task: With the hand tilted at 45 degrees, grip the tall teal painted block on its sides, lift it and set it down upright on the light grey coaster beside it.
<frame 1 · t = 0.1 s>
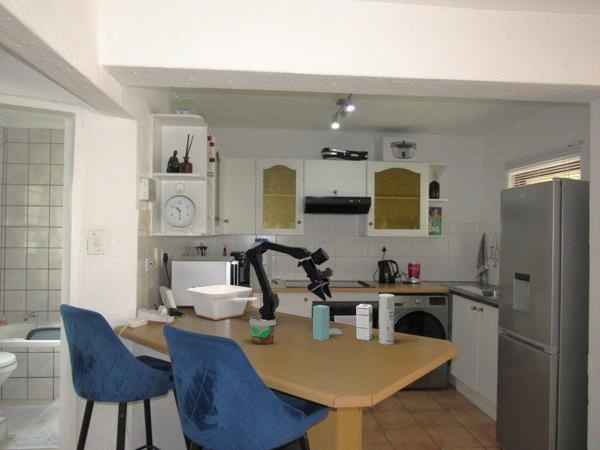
hand: (328, 299, 195), 15 cm above the countertop, tool tilted 35°, fingers open, 9 cm apart
block: (321, 338, 181), on the countertop
syrup box: (364, 338, 182), on the countertop
coaster: (329, 332, 190), on the countertop
spray can: (386, 342, 175), on the countertop
food container: (259, 343, 172), on the countertop
pot: (228, 318, 220), on the countertop
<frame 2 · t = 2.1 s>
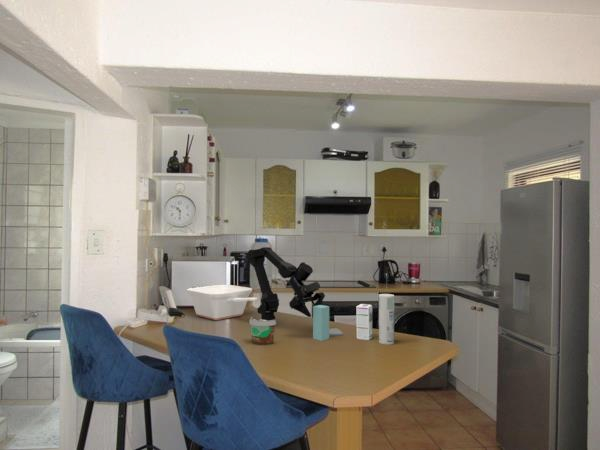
hand: (317, 315, 182), 10 cm above the countertop, tool tilted 45°, fingers open, 9 cm apart
nothing on the countertop moved.
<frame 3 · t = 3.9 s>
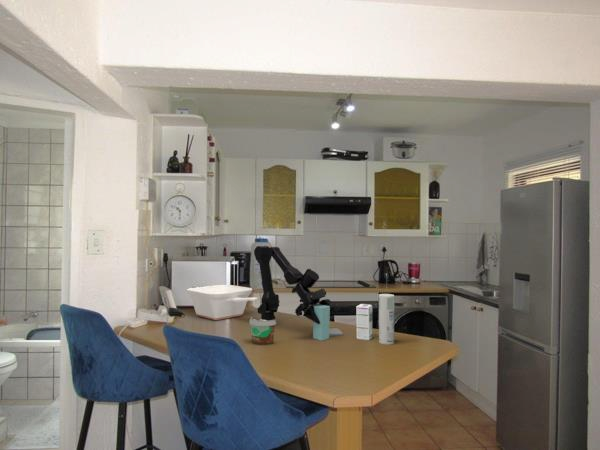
hand: (323, 322, 180), 7 cm above the countertop, tool tilted 45°, fingers closed on block, 5 cm apart
block: (321, 338, 181), on the countertop, touching gripper
everything else where it was.
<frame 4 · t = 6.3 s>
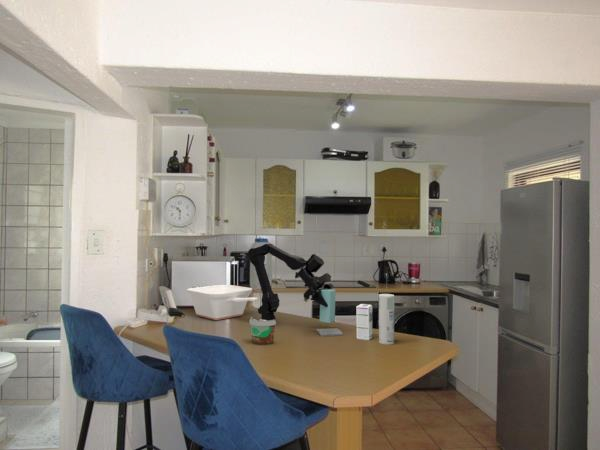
hand: (330, 305, 186), 13 cm above the countertop, tool tilted 45°, fingers closed on block, 5 cm apart
block: (327, 321, 187), point 6 cm above the countertop, touching gripper
everything else where it was.
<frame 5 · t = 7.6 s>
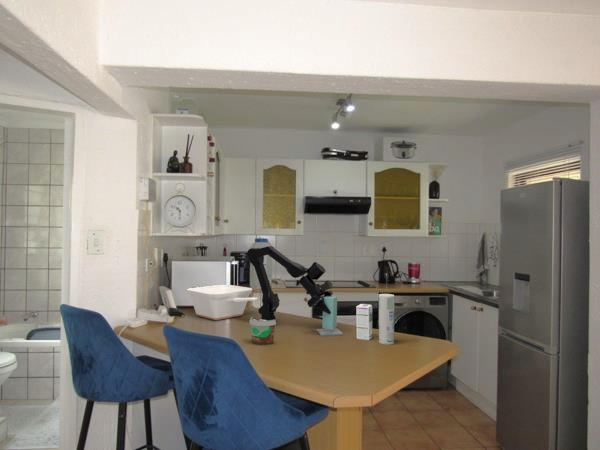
hand: (332, 312, 190), 10 cm above the countertop, tool tilted 45°, fingers closed on block, 5 cm apart
block: (329, 327, 191), point 2 cm above the countertop, touching gripper
everything else where it was.
when the fingers open (9 cm above the countertop, at t = 8.5 s): block drops 1 cm, resting on coaster.
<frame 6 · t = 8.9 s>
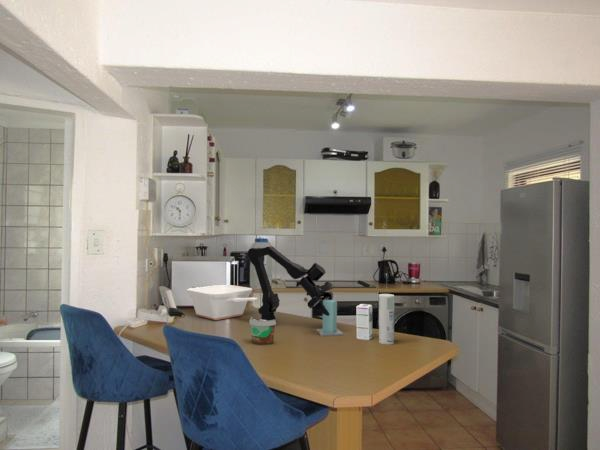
hand: (332, 313, 190), 9 cm above the countertop, tool tilted 45°, fingers open, 9 cm apart
block: (329, 331, 191), point 1 cm above the countertop, touching coaster
everything else where it was.
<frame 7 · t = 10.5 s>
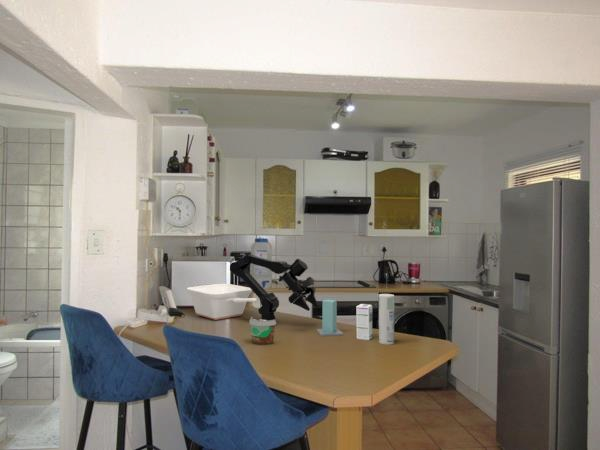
hand: (313, 308, 194), 11 cm above the countertop, tool tilted 45°, fingers open, 9 cm apart
pot: (227, 318, 221), on the countertop, touching arm
everything else where it was.
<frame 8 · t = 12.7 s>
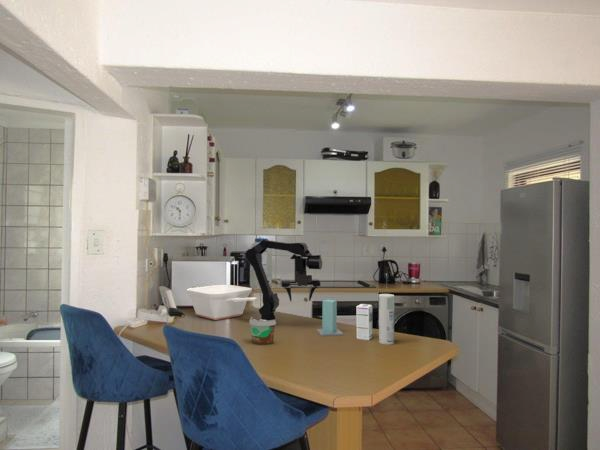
hand: (300, 301, 200), 13 cm above the countertop, tool pointing down, fingers open, 9 cm apart
pot: (228, 318, 221), on the countertop
everything else where it was.
at the end: block inside the target area on the coaster (0.1 cm from its centre), point 0.8 cm above the coaster's base; block tilted 0°; the gripper is holding nothing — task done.
